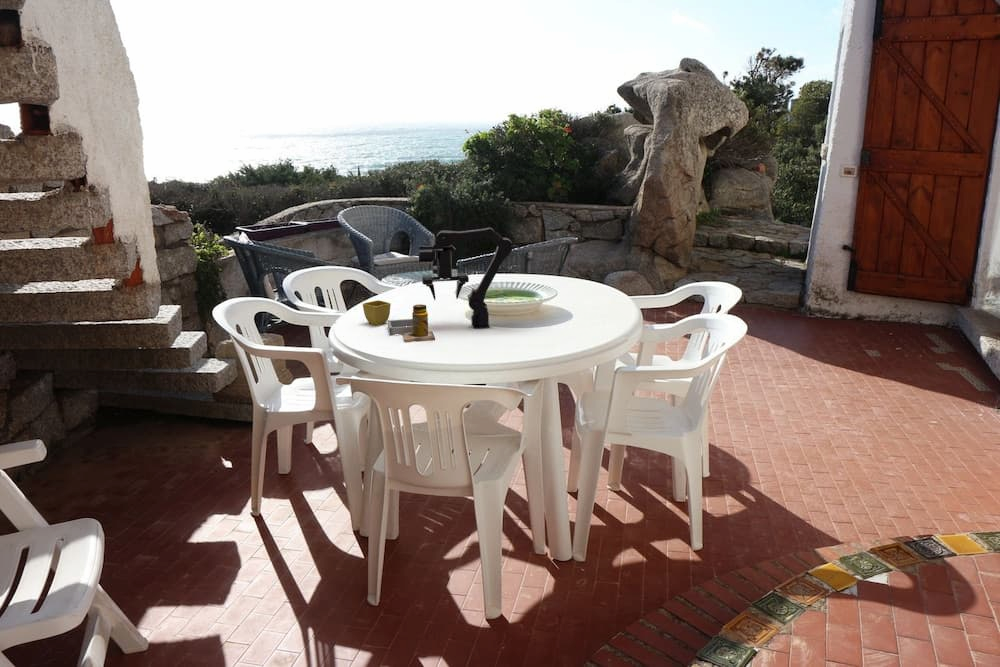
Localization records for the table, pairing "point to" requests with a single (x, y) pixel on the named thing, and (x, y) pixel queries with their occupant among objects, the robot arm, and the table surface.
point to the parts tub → (400, 326)
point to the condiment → (419, 322)
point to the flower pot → (377, 311)
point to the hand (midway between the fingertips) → (445, 299)
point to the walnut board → (409, 339)
